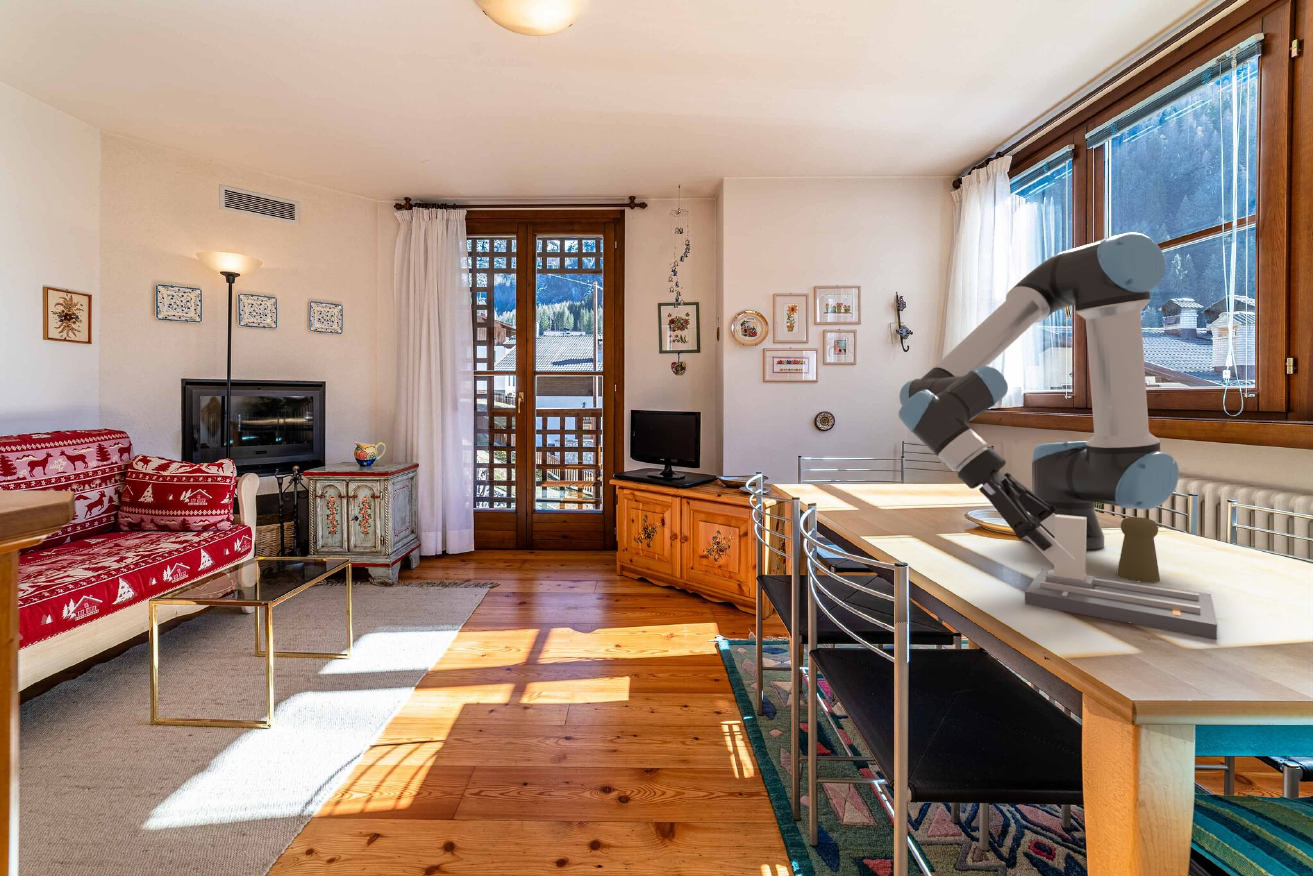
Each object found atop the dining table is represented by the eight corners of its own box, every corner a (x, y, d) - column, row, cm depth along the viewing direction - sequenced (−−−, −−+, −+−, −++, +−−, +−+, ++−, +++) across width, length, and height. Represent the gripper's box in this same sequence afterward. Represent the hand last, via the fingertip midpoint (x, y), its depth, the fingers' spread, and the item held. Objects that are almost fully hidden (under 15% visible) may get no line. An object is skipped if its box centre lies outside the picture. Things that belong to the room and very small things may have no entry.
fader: (1050, 576, 97) (1051, 512, 96) (1094, 583, 93) (1095, 516, 92) (1045, 583, 93) (1046, 517, 93) (1090, 591, 89) (1092, 521, 89)
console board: (1041, 579, 102) (1041, 564, 102) (1210, 606, 88) (1211, 588, 87) (1024, 603, 91) (1024, 586, 91) (1216, 639, 76) (1217, 619, 76)
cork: (1168, 583, 99) (1170, 521, 98) (1129, 581, 100) (1130, 521, 100) (1146, 573, 105) (1147, 515, 104) (1109, 572, 106) (1110, 514, 105)
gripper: (974, 467, 113) (1064, 553, 103) (934, 481, 94) (1040, 586, 85) (1005, 441, 109) (1101, 528, 99) (970, 451, 90) (1084, 558, 81)
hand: (1073, 555), depth 92 cm, fingers open, 13 cm apart
